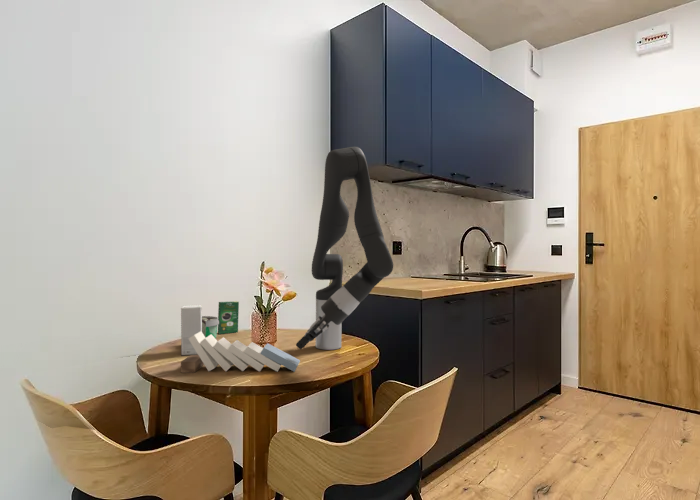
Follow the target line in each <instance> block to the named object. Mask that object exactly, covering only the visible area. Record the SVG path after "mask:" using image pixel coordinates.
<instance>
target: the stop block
mask: <svg viewBox="0 0 700 500" xmlns="http://www.w3.org/2000/svg"><path fill="white" fill-rule="evenodd" d="M203 366H204V367H205V365H204V363H203V362H202V360H201V358H200V357H199V355H198V354H195V355H188V356H187V357H185V358H184V359H182V360H181V361H180V373H196V372H197V371H199V370H200V369H202V367H203Z"/></svg>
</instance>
